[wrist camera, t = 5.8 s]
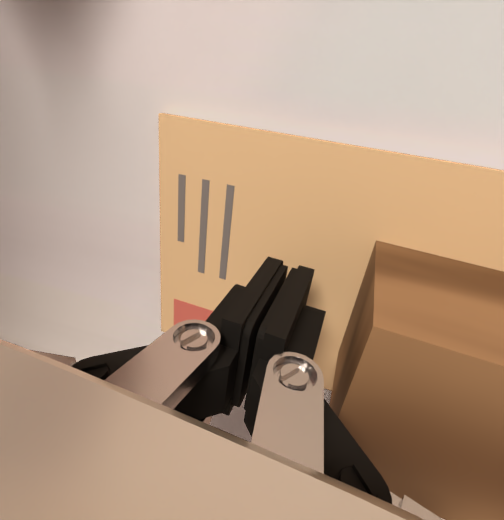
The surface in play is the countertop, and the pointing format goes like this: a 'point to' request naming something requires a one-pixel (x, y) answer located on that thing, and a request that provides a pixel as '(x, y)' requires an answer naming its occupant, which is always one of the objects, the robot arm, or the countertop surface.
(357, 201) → the letter
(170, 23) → the countertop surface
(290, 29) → the countertop surface
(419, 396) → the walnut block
